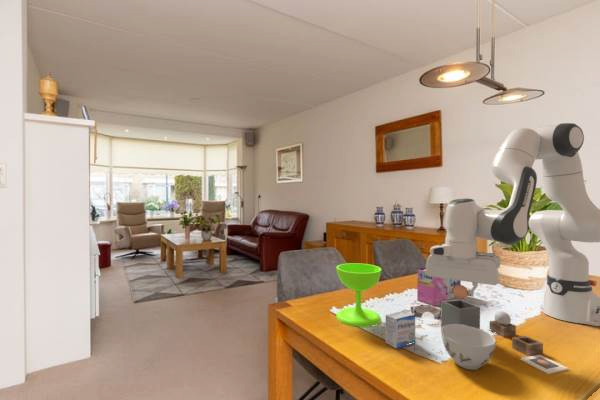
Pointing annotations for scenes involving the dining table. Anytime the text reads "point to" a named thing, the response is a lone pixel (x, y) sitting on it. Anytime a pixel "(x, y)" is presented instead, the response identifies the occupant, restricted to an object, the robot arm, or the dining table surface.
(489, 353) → the teacup
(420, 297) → the gum box
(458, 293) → the terracotta ball
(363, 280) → the wineglass
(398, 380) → the dining table surface
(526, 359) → the card
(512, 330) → the walnut ball cups
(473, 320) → the charcoal tube
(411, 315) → the medicine box
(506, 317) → the white ball
